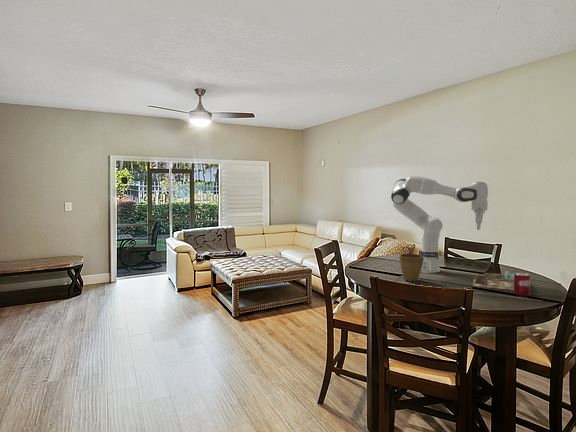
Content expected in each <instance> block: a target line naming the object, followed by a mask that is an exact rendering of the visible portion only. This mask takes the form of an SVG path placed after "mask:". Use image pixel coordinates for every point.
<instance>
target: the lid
mask: <svg viewBox="0 0 576 432" xmlns="http://www.w3.org/2000/svg"><path fill="white" fill-rule="evenodd" d="M504 272H505V273H504V274H503V275H505V276H504V277H505V280H511V281H514V274H515V273H510V272H509V271H508V270H505V271H504Z"/></svg>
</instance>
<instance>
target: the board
mask: <svg viewBox="0 0 576 432" xmlns="http://www.w3.org/2000/svg"><path fill="white" fill-rule="evenodd" d="M488 276H496V277H505V275H504V274H501V273H487V272H486V273H485V274H484V284H481V283H476V278H473V283H472V286H473V287H483V288H489V289H490V288H491V289H502V290H508V291H509V290H511V291H514V281H511V280H506V279H500V278H493V277H491V278H490V277H488Z"/></svg>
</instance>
